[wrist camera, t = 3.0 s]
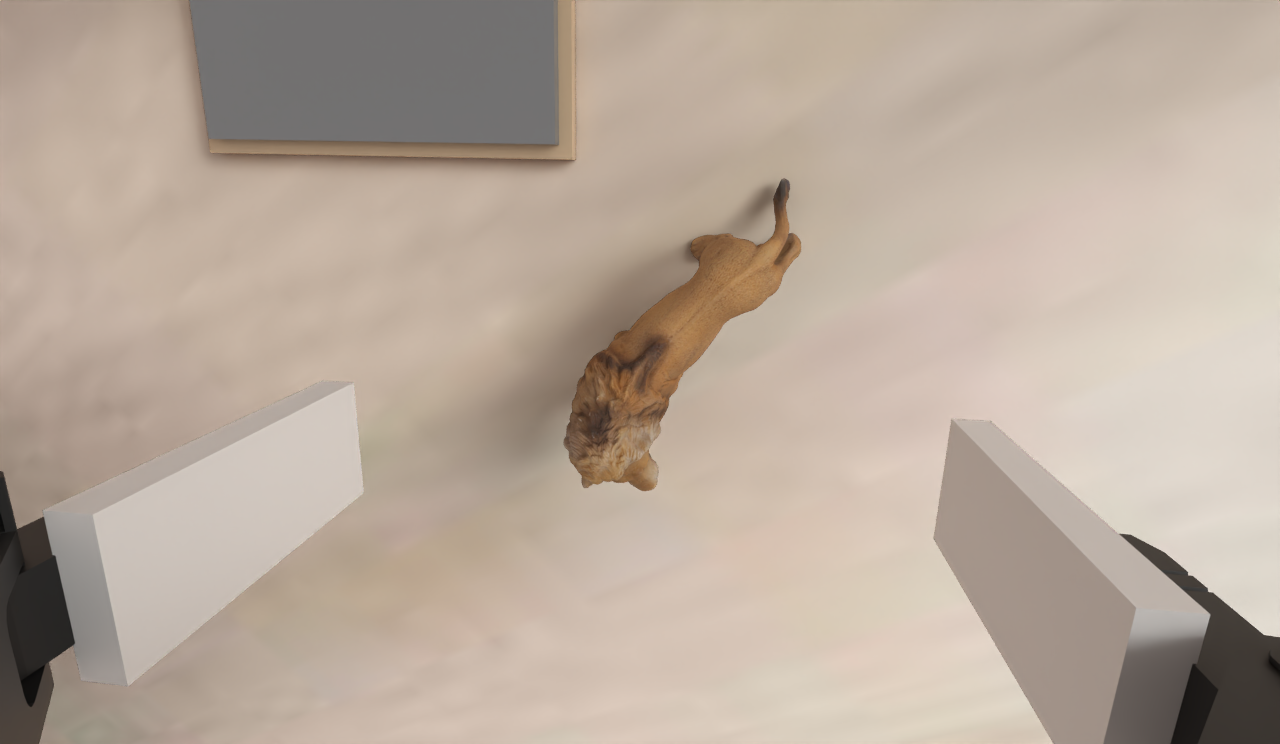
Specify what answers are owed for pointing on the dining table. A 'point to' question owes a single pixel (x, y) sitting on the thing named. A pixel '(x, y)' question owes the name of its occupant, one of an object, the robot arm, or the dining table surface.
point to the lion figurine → (668, 352)
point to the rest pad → (389, 77)
